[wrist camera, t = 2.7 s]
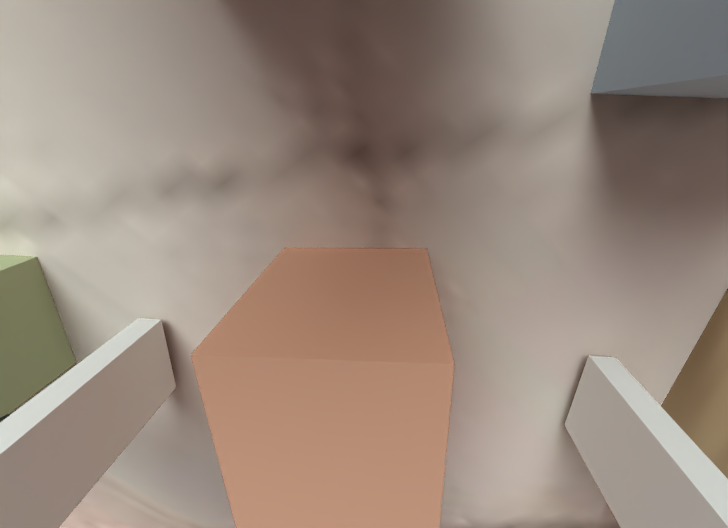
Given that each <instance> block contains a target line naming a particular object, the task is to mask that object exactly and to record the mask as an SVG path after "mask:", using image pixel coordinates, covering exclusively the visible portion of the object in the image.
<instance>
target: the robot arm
mask: <svg viewBox="0 0 728 528" xmlns="http://www.w3.org/2000/svg"><path fill="white" fill-rule="evenodd" d="M175 388H176V384H175V379H174V375H173V370H172V366H171V361H170V357H169V352H168V348H167V343H166V339H165V334H164V330H163V325H162V321H161V320H158V319H146V318H138V319H137V320H135V321H134V322H133V323H131V324H130V325H129V326H127V327H126V328H125V329H123V330H122V331H121V332H119V333H118V334H117V335H115V336H114V337H113V338H111V339H110V340H109V341H107V342H106V343H105V344H103V345H102V346H101V347H99V348H98V349H97V350H96V351H94V352H93V353H92V354H90V355H89V356H88V357H86V358H85V359H84V360H82V361H81V362H80V363H78V364H77V365H76V366H74V367H73V368H72V369H70V370H69V371H68V372H66V373H65V374H64V375H62V376H61V377H60V378H58V379H57V380H56V381H55V382H53V383H52V384H51V385H49V386H48V387H47V388H45V389H44V390H43V391H41V392H40V393H39V394H37V395H36V396H35V397H33V398H32V399H31V400H29V401H28V402H27V403H25V404H24V405H23V406H21V407H20V408H19V409H17V410H16V411H15V412H14V413H12V414H6V415H5V416H3V417H1V418H0V528H59V527H60V525H61V524H62V523H63V522H64V521H65V520H66V518H67V517H68V516H69V515H70V514H71V512H72V511H73V510H74V509H75V508H76V506H77V505H78V504H79V503H80V502H81V500H82V499H83V498H84V497H85V496H86V494H87V493H88V492H89V491H90V490H91V488H92V487H93V486H94V485H95V484H96V482H97V481H98V480H99V479H100V478H101V476H102V475H103V474H104V473H105V472H106V471H107V469H108V468H109V467H110V466H111V465H112V463H113V462H114V461H115V460H116V459H117V457H118V456H119V455H120V454H121V453H122V451H123V450H124V449H125V448H126V447H127V445H128V444H129V443H130V442H131V441H132V439H133V438H134V437H135V436H136V435H137V433H138V432H139V431H140V430H141V429H142V427H143V426H144V425H145V424H146V423H147V422H148V420H149V419H150V418H151V417H152V416H153V414H154V413H155V412H156V411H157V410H158V408H159V407H160V406H161V405H162V404H163V402H164V401H165V400H166V399H167V398H168V396H169V395H170V394H171V393H172V392H173V390H174V389H175ZM565 427H566V429H567V431H568V432H569V434H570V436H571V438H572V440H573V442H574V443H575V445H576V447H577V449H578V451H579V453H580V454H581V456H582V458H583V460H584V462H585V464H586V465H587V467H588V469H589V471H590V473H591V475H592V476H593V478H594V480H595V482H596V484H597V486H598V487H599V489H600V491H601V493H602V495H603V496H604V498H605V500H606V502H607V504H608V506H609V507H610V509H611V511H612V513H613V515H614V517H615V518H616V520H617V522H618V524H619V526H620V528H728V479H727V478H726V477H725V475H724V474H723V473H722V472H721V471H720V470H719V469H718V468H717V467H716V466H715V465H714V464H713V462H712V461H711V460H710V459H709V458H708V457H707V456H706V455H705V454H704V453H703V452H702V451H701V449H700V448H699V447H698V446H697V445H696V444H695V443H694V442H693V441H692V440H691V439H690V437H689V436H688V435H687V434H686V433H685V432H684V431H683V430H682V429H681V428H680V427H679V426H678V424H677V423H676V422H675V421H674V420H673V419H672V418H671V417H670V416H669V415H668V414H667V412H666V411H665V410H664V409H663V408H662V407H661V406H660V405H659V404H658V403H657V402H656V401H655V399H654V398H653V397H652V396H651V395H650V394H649V393H648V392H647V391H646V390H645V389H644V387H643V386H642V385H641V384H640V383H639V382H638V381H637V380H636V379H635V378H634V377H633V376H632V374H631V373H630V372H629V371H628V370H627V369H626V368H625V367H624V366H623V365H622V364H621V363H620V361H619V360H618V359H617V358H615V357H603V356H591V355H589V356H588V359H587V362H586V364H585V367H584V370H583V373H582V376H581V379H580V382H579V385H578V387H577V390H576V393H575V396H574V399H573V402H572V405H571V408H570V411H569V413H568V416H567V419H566V422H565Z"/></svg>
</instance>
